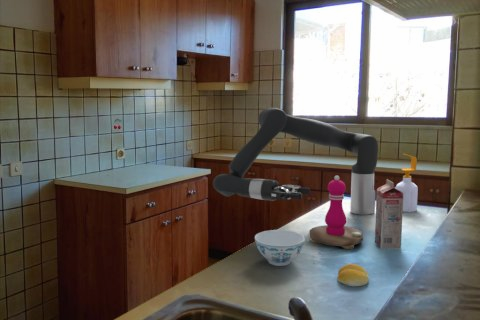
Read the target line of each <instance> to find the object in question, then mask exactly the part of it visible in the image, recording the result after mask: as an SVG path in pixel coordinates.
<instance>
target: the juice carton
mask: <svg viewBox="0 0 480 320" xmlns="http://www.w3.org/2000/svg"><path fill="white" fill-rule="evenodd" d="M403 194H404V193H402V192H401V191H399V190H398V189H396V187H395V183H394V182H393V181H391V180H389V179H388V178H387V179H386V180H385V184H384V185H381V186H379V187H378V188H377V189H376V195H375V222H374V223H375V226H374V244H376V246H377V247H379V249H380V250H388V249H390V250H394V249H396V250H398V249H399V250H401V249H402V235H403V234H402V230H403V214H404V212H403Z"/></svg>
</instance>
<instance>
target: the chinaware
mask: <svg viewBox="0 0 480 320" xmlns="http://www.w3.org/2000/svg"><path fill="white" fill-rule="evenodd" d="M305 239H306V237H304V235H303V234H301V233H299V232H297V231H293V230H287V229H273V230H272V229H270V230H264V231H261V232H260V231H259V232H258V233H256V234H255V235H254V242H255V245H256V248H257V250H258V252H259V253H260V254H261V256H262V257H264V258H265V259H266V260H267V262H268V264H270V265H272V266H277V267H284V266H288V265H289V264H291V261H293V260H294V259H295V258H297V256H298V255H299V254H300V253H301V251H302V250H303V247H304V244H305Z"/></svg>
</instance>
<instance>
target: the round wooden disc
mask: <svg viewBox="0 0 480 320" xmlns="http://www.w3.org/2000/svg"><path fill="white" fill-rule="evenodd" d="M327 226H328V225H327V224H326V225H319V226H315V227H312V228H311V229H309V234H308V235H309V239H310V242H312V243H317V244H318V243H319V244H321V245H326V246H334V247H335V246H336V247H338V246H339V247H341V248H342V249H345V250H353V249H354V247H355V245H358V244H360V243H362V242H363V239H364V234H363V232H362V231H361V230H359V229H357V228H354V227H351V226H345V225H344V226H343V227H344V228H345V233H344V234H343V235H330V234H328V233H326V227H327Z"/></svg>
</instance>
